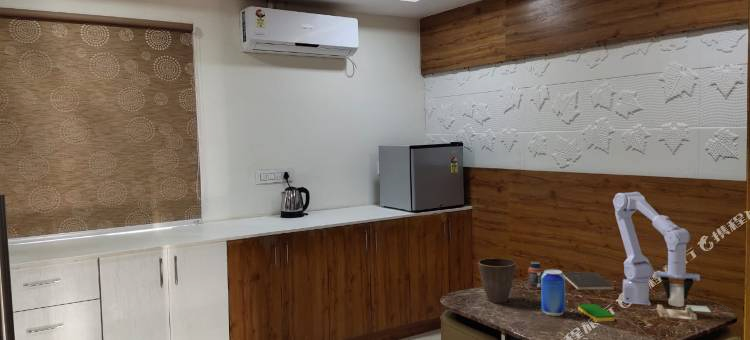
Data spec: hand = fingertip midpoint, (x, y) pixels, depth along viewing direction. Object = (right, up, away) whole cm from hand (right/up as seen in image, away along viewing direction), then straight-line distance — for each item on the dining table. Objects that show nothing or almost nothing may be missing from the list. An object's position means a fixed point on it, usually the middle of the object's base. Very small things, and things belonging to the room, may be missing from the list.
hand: (676, 298), depth 196 cm
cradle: (0, -6, 0) cm, 6 cm away
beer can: (-44, -7, +5) cm, 45 cm away
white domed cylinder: (0, -2, 0) cm, 2 cm away
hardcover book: (-15, -5, +46) cm, 48 cm away
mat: (+12, -6, +6) cm, 14 cm away
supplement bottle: (-40, -5, +39) cm, 56 cm away
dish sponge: (-29, -8, +2) cm, 30 cm away
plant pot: (-61, -7, +22) cm, 65 cm away
